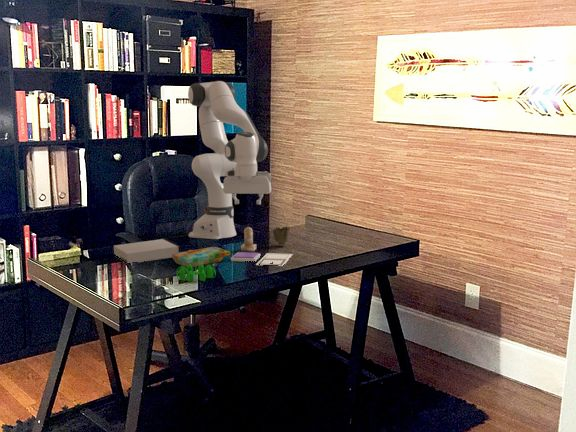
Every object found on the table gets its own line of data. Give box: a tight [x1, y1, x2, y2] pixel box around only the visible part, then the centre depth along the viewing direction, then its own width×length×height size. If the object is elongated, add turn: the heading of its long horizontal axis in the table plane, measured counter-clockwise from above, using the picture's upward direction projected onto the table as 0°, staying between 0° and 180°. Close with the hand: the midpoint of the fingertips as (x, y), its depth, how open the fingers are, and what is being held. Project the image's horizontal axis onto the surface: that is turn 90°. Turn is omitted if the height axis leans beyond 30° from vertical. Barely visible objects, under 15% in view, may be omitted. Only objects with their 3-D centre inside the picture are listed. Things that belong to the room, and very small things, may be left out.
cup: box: [272, 226, 290, 248], centre depth 286 cm, size 8×7×8 cm
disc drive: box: [113, 238, 181, 264], centre depth 273 cm, size 18×22×5 cm
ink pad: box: [230, 251, 262, 263], centre depth 265 cm, size 10×9×2 cm
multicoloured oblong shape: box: [171, 246, 232, 268], centre depth 261 cm, size 12×5×20 cm
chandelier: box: [175, 259, 217, 283], centre depth 238 cm, size 15×15×7 cm
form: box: [255, 252, 294, 267], centre depth 263 cm, size 11×19×1 cm, turn 168°
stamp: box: [240, 226, 258, 253], centre depth 278 cm, size 6×4×10 cm
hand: (247, 204), depth 276 cm, fingers open, 8 cm apart
